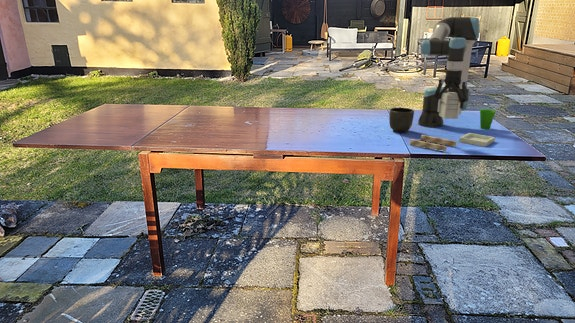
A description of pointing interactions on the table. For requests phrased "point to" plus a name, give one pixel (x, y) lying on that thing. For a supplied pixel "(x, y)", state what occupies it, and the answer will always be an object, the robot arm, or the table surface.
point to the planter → (401, 119)
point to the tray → (477, 139)
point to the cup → (486, 118)
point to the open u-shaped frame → (432, 140)
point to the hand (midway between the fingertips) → (448, 112)
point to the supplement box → (449, 105)
